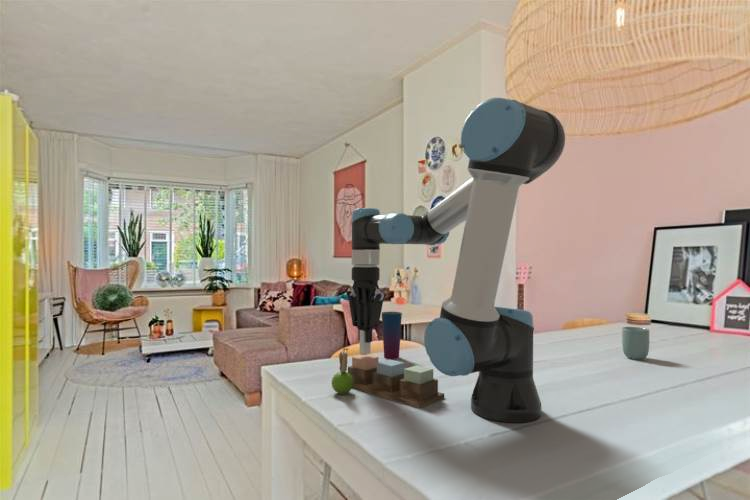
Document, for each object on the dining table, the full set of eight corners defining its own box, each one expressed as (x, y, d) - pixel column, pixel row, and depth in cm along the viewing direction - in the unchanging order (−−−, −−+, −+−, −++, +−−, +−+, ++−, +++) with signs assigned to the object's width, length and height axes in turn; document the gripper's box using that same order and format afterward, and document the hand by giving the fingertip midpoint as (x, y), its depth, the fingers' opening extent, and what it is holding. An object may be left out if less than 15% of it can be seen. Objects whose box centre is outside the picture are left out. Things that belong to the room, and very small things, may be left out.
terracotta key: (378, 368, 121) (378, 356, 121) (365, 371, 117) (365, 360, 117) (365, 364, 124) (365, 354, 124) (352, 368, 121) (352, 357, 121)
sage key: (433, 381, 109) (433, 368, 109) (420, 385, 105) (420, 372, 105) (416, 377, 112) (416, 365, 112) (404, 381, 108) (404, 369, 108)
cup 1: (379, 358, 149) (379, 313, 149) (384, 354, 156) (384, 311, 156) (398, 360, 147) (399, 314, 147) (403, 355, 154) (403, 311, 154)
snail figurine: (334, 399, 108) (334, 349, 108) (329, 391, 114) (330, 343, 115) (356, 397, 110) (356, 347, 110) (350, 389, 116) (350, 342, 116)
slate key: (404, 374, 115) (404, 362, 115) (391, 378, 111) (391, 366, 111) (389, 370, 118) (389, 359, 118) (376, 374, 115) (376, 362, 115)
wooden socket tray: (444, 397, 109) (444, 378, 109) (419, 408, 102) (419, 387, 102) (367, 377, 127) (367, 360, 127) (341, 384, 120) (341, 367, 120)
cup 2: (617, 357, 153) (617, 327, 153) (632, 354, 156) (632, 326, 157) (639, 362, 146) (638, 331, 146) (654, 359, 149) (654, 329, 149)
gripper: (393, 266, 119) (392, 355, 119) (358, 265, 128) (357, 348, 128) (373, 267, 114) (373, 360, 114) (338, 265, 123) (338, 352, 123)
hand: (365, 353), depth 121 cm, fingers closed
